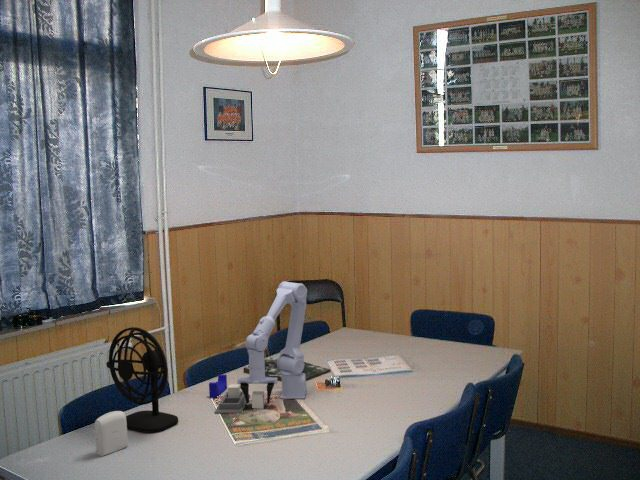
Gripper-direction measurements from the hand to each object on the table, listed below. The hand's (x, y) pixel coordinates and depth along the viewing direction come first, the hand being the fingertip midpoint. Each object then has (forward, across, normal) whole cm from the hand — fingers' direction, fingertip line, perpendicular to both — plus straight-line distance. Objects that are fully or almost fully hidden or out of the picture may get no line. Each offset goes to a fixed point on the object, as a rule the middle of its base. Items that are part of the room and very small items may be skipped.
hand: (258, 402), depth 266 cm
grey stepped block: (+2, -10, +3) cm, 11 cm away
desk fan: (+2, -37, -17) cm, 41 cm away
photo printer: (+2, -41, -40) cm, 57 cm away
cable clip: (+2, -19, +17) cm, 25 cm away
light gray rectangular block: (+2, 0, 0) cm, 2 cm away
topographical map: (+2, +6, +47) cm, 48 cm away
